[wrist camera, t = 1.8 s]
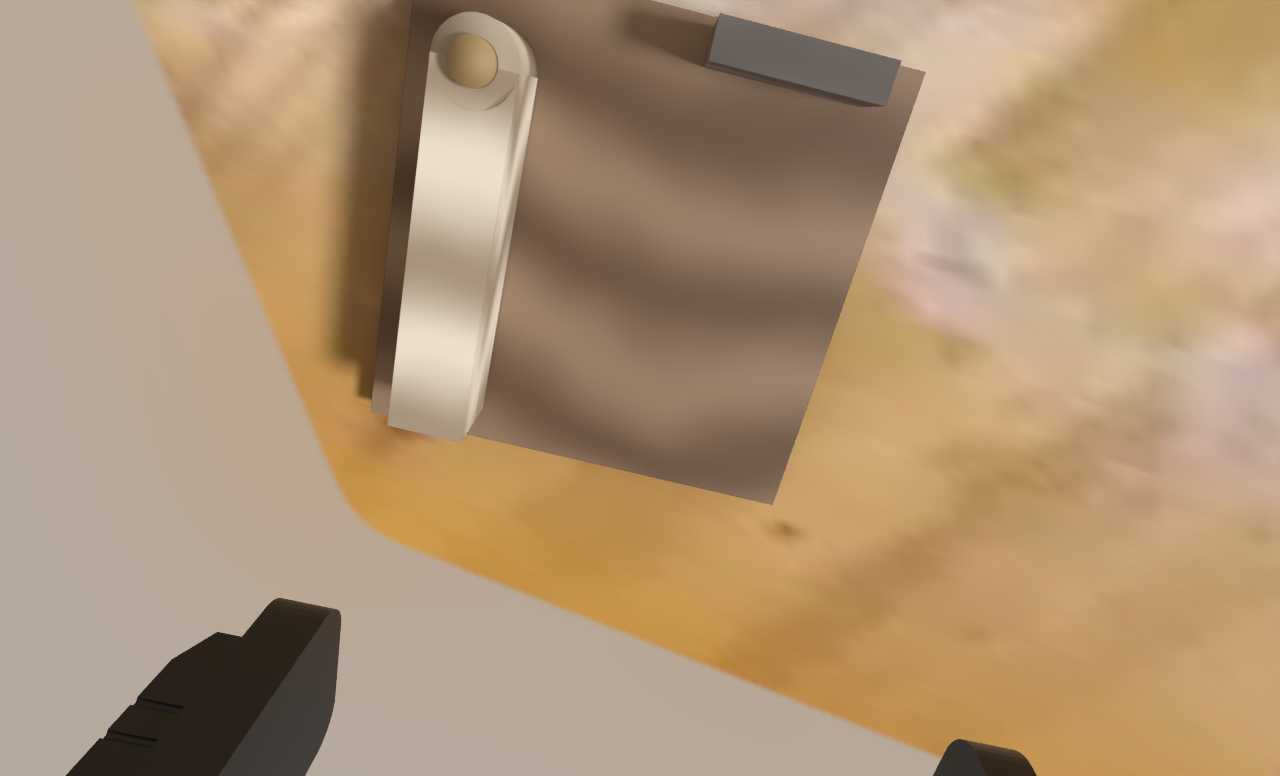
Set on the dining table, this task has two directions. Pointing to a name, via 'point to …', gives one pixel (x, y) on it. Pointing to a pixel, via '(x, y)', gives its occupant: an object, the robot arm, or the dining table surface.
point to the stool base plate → (668, 233)
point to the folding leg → (461, 221)
